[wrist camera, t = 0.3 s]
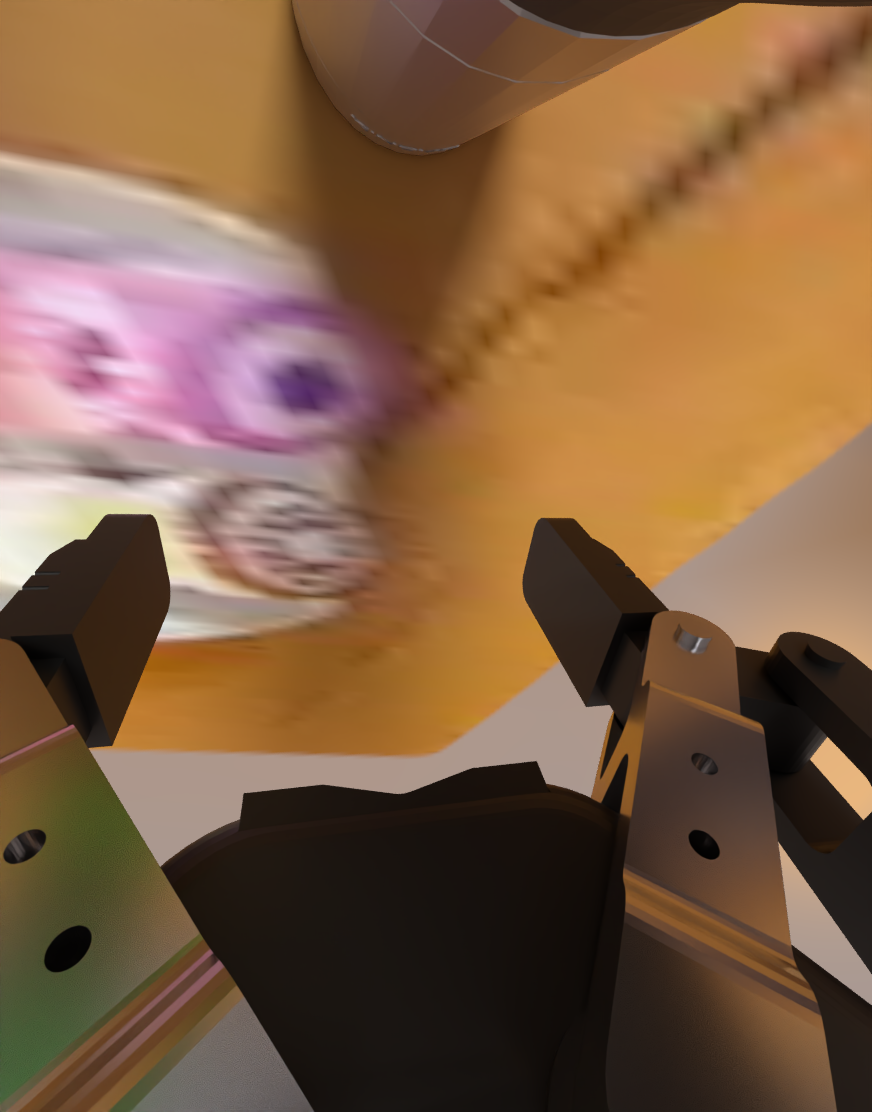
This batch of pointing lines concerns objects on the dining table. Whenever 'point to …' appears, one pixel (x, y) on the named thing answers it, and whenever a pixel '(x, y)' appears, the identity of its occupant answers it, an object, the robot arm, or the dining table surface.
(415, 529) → the dining table surface
